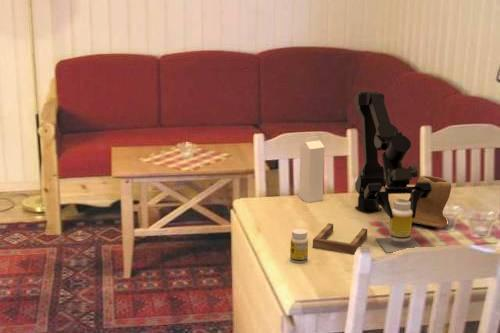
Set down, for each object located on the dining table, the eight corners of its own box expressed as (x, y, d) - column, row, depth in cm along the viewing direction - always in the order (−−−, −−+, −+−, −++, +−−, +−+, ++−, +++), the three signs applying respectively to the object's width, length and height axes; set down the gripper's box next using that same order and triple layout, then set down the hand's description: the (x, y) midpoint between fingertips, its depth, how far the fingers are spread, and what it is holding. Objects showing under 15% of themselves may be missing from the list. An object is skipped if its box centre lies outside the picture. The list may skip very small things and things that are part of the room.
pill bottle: (414, 240, 212) (417, 204, 209) (395, 243, 210) (398, 206, 207) (403, 233, 217) (406, 197, 214) (384, 235, 215) (387, 199, 212)
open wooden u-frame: (328, 231, 226) (328, 223, 225) (367, 236, 221) (367, 228, 220) (312, 247, 212) (312, 239, 212) (353, 254, 208) (353, 246, 207)
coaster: (375, 240, 219) (375, 238, 218) (411, 238, 220) (411, 236, 220) (386, 254, 208) (386, 252, 208) (424, 252, 209) (424, 250, 209)
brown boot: (454, 222, 235) (458, 176, 231) (441, 233, 225) (445, 185, 221) (409, 213, 243) (412, 168, 239) (394, 223, 233) (397, 177, 229)
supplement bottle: (289, 256, 206) (289, 228, 203) (305, 256, 206) (306, 227, 204) (291, 263, 201) (292, 234, 199) (308, 263, 201) (309, 234, 199)
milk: (322, 200, 254) (325, 137, 249) (308, 203, 252) (310, 139, 246) (312, 195, 260) (315, 134, 254) (298, 198, 257) (300, 135, 251)
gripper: (368, 156, 210) (377, 206, 202) (432, 154, 212) (443, 204, 204) (360, 175, 219) (368, 223, 212) (421, 173, 222) (431, 221, 214)
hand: (402, 217), depth 210 cm, fingers closed on pill bottle, 6 cm apart
